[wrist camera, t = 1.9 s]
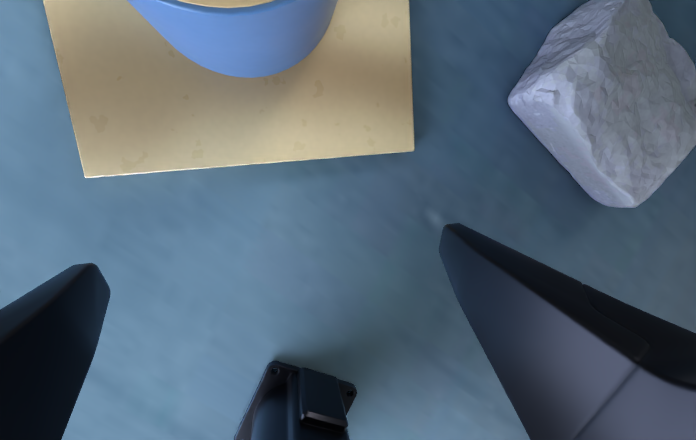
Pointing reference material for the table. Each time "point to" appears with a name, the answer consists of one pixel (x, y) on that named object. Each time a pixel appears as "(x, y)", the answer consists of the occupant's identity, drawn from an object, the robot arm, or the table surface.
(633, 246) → the table surface
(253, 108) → the birch board
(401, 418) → the table surface
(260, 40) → the blue cylinder
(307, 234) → the table surface
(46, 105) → the table surface
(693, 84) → the stone block
